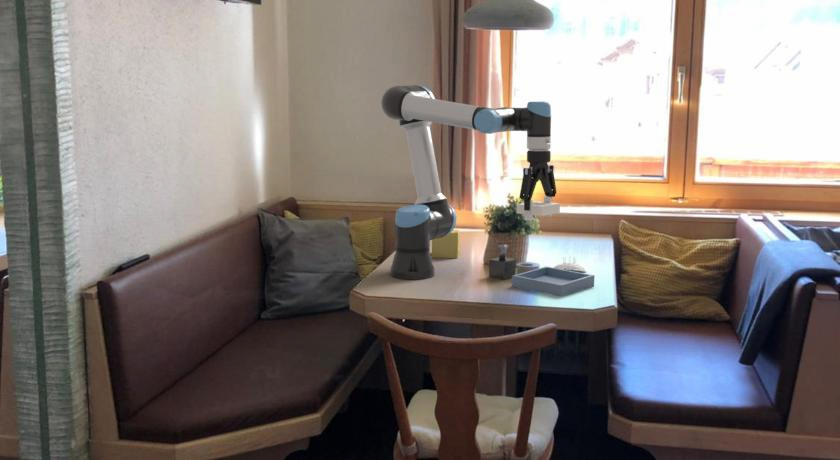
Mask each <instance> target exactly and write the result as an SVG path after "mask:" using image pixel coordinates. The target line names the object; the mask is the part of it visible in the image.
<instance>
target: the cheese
mask: <svg viewBox="0 0 840 460" xmlns="http://www.w3.org/2000/svg"><path fill="white" fill-rule="evenodd" d="M460 252H461V245H460V230H459V229H453V230H452V232H451V233H449V234H448V235H446V236H444V237H442V238H436V239H433V240H431V259H432V258H435V259H437V258H438V259H442V258H443V259H458V258H459V254H460Z"/></svg>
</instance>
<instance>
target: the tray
mask: <svg viewBox="0 0 840 460" xmlns="http://www.w3.org/2000/svg"><path fill="white" fill-rule="evenodd" d="M595 276H596V275H595V274H590V273H589V274H588V273H584V272H578V271H575V270H569V271H568V269H557V268H554V267H550V266H542V267H540V268H535V269H532V270H529V271H524V272H521V273H516V275H513V276H512V278H511V287H514V288H520V289H523V290H530V291H532V292H533V291H534V292H539V293H544V294H549V295H552V296H558V297H563V296H568V295H570V294H573V293H576V292H579V290H580V291H582V289H583V290H585V288H586V289H588V288H592V287H594V286H595ZM591 286H592V287H591Z"/></svg>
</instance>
